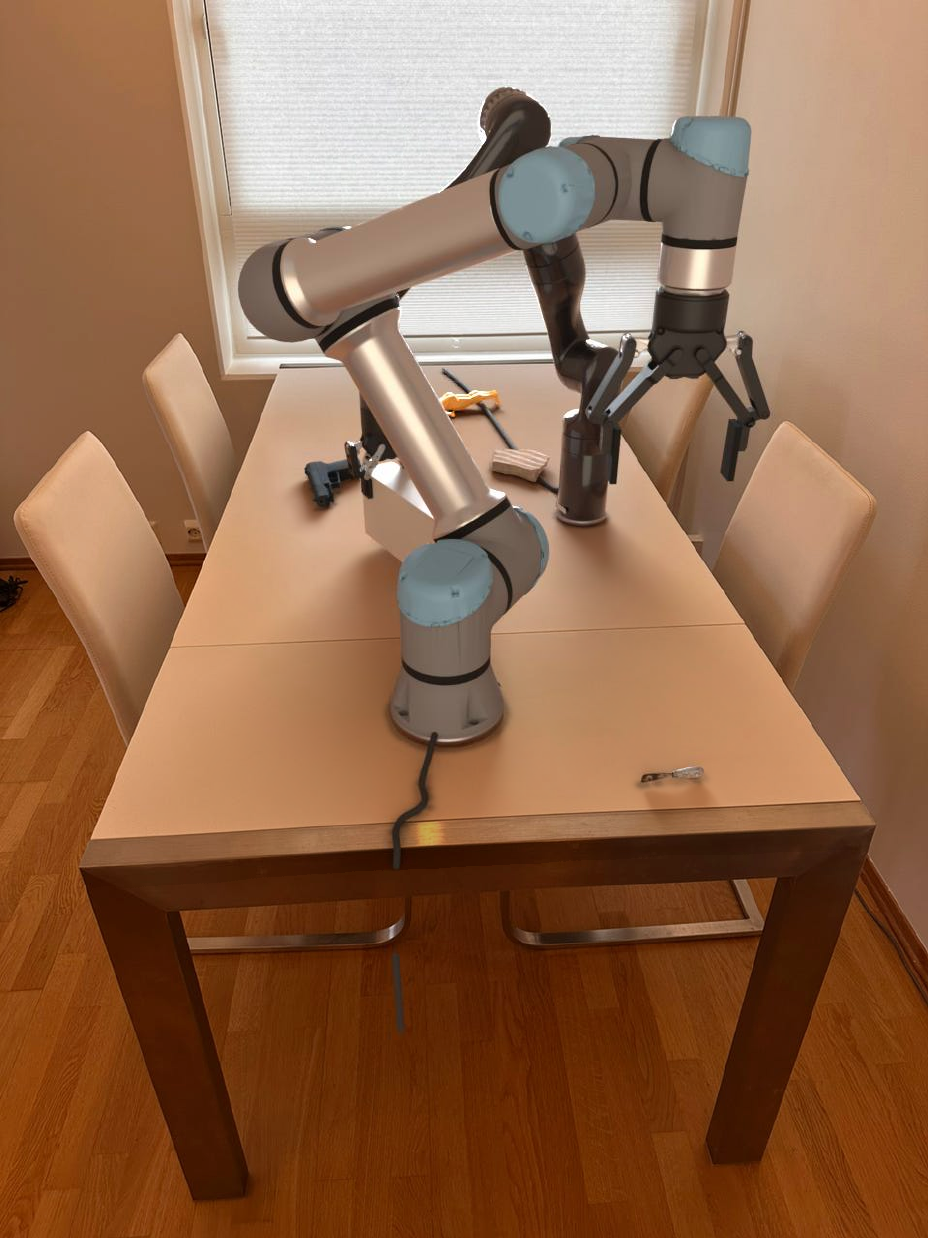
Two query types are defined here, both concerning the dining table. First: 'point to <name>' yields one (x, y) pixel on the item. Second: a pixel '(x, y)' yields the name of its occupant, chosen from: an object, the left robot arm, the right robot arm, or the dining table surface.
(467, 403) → the human figure
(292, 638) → the dining table surface
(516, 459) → the stone
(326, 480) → the handgun
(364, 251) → the left robot arm
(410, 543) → the box
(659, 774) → the putty knife
